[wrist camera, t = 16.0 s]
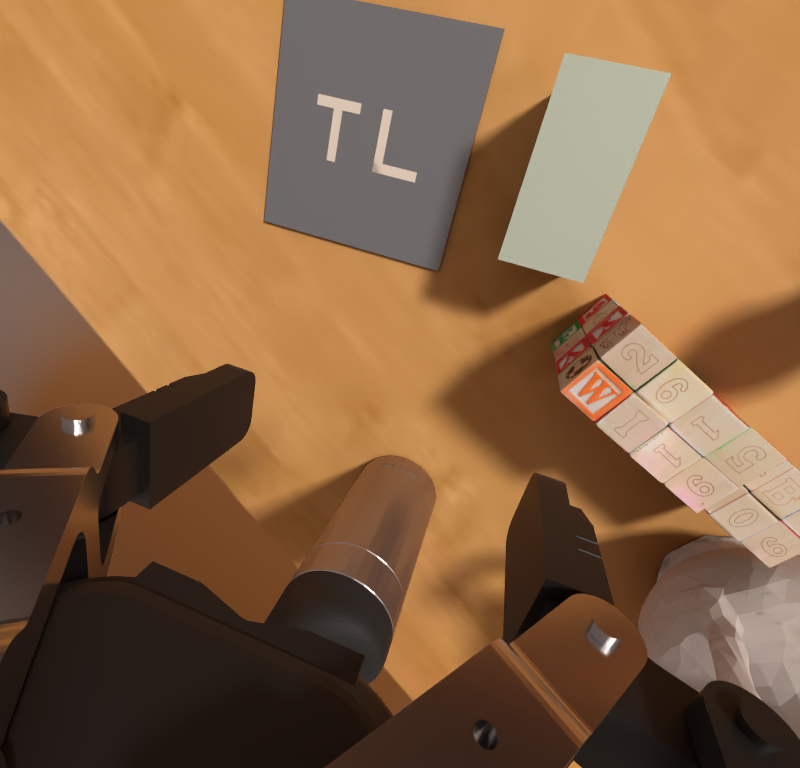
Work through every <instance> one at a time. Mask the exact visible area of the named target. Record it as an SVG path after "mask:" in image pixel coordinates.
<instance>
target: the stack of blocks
mask: <svg viewBox="0 0 800 768" xmlns="http://www.w3.org/2000/svg"><path fill="white" fill-rule="evenodd" d="M551 346H552V353H553V354H554V359H555V368H556V373H557V376H558V380H559V387H560V392H561V393H562V394H563V395H564V396H565V397H567V398H568V399H569V400H570V401H571V402H572V403H573V404H574V405H576V406H577V407H578V408H579V409H580V410H581V411H582V412H583V413H584V414H585V415H587V416H588V417H589V418H590V419H591V420H592V421H594V422H595V424H596V425H597V427H598V428H600V429H601V430H602V431H603V432H604V433H605V434H607V435H608V436H609V437H610V438H611V439H612V440H613V441H615V442H616V443H617V444H618V445H619V446H620V447H622V448H623V449H624V450H625V451H626V452H628V453H629V455H630V457H631V458H632V459H634V460H635V461H636V462H637V463H638V464H639V465H641V466H642V467H643V468H644V469H645V470H646V471H647V472H649V473H650V474H651V475H652V476H653V477H654V478H656V479H657V480H658V481H659V482H661V483H663V484H664V485H665V486H666V487H667V488H668V489H669V490H670V491H671V492H672V493H674V494H675V495H676V496H677V497H678V498H679V499H680V500H682V501H683V502H684V503H685V504H686V505H687V506H689V507H690V508H691V509H692V510H693V511H694V512H695V513H698V512H700V511H702V510H703V509H704V510H705V511H706V512H707V514H708V515H709V516H710V517H711V518H712V519H713V520H714V521H715V522H716V523H718V524H719V525H720V526H721V527H722V528H723V529H724V530H725V531H726V532H727V533H729V534H730V535H731V536H732V537H733V538H734V539H735V540H736V541H740V542H741V543H742V544H743V545H744V546H745V547H746V548H747V549H749V550H750V551H751V552H752V553H753V554H754V555H755V556H756V557H757V558H758V559H760V560H761V561H762V562H763V563H764V564H765V565H766V566H767V567H769V568H770V567H773V566H775V565H777V564H779V563H781V562H783V561H785V560H787V559H790V558H792V557H794V556H796V555H798V554H800V471H799V470H798V469H797V468H795V467H794V466H793V465H792V464H791V463H790V462H789V461H788V460H787V459H786V458H785V457H784V456H783V455H782V454H781V453H780V452H778V451H777V450H776V449H775V448H774V447H773V446H772V445H771V444H769V443H768V442H767V441H766V440H765V439H764V438H763V437H762V436H761V435H760V434H758V433H757V432H756V431H755V430H754V429H753V428H752V427H751V426H749V425H748V424H747V423H746V422H745V421H744V420H743V419H742V418H740V417H739V416H738V415H737V414H736V413H735V412H734V411H733V410H732V409H731V408H730V407H729V406H727V405H726V404H725V403H724V402H723V401H722V400H721V399H720V398H719V397H717V396H716V395H715V394H714V393H713V391H712V390H711V389H710V388H709V387H708V386H707V385H706V384H705V383H704V382H703V381H702V380H700V379H699V378H698V377H697V376H696V375H695V374H694V373H693V372H692V371H691V370H690V369H689V368H688V367H687V366H685V365H684V364H683V363H682V362H681V361H680V360H679V359H678V358H677V357H676V356H675V354H673V353H672V352H671V351H670V350H669V349H668V348H667V347H666V346H665V345H664V344H663V343H662V342H661V341H660V340H659V339H658V338H657V337H656V336H654V335H653V334H652V333H651V332H650V331H649V330H648V329H647V328H646V327H645V326H644V325H643V324H642V323H640V322H639V321H638V320H637V319H636V318H634V317H633V316H632V315H631V314H630V313H628V312H627V311H626V310H625V309H624V308H622V307H621V306H620V305H619V304H618V303H617V302H616V301H615V300H613V299H612V298H611V297H610V296H609V295H607V294H605V295H604V296H603V297H601V298H600V299H599V300H598V301H597V302H596V303H595V304H594V305H593V306H591V307H590V308H589V309H588V310H587V311H586V312H585V313H584V314H583V315H582V316H580V317H579V318H578V320H577V321H576V322H575V323H574V324H572V325H571V326H570V327H569V328H568V329H567V330H566V331H565V332H563V333H562V334H561V335H560V336H559V337H558V338H557V339H556V340H554V341H553V342H552V343H551Z"/></svg>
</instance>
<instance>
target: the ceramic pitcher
mask: <svg viewBox="0 0 800 768" xmlns="http://www.w3.org/2000/svg"><path fill="white" fill-rule="evenodd" d="M637 630H638V631H639V633H640V634H641V636H642V638H643V640H644V642H645V645H646V648H647V655H648V657H649V658H650V659H651V660H652V661H653V662H655V663H656V664H658V665H659V666H660V667H662V668H663V669H665V670H666V671H668V672H669V673H671V674H672V675H674V676H675V677H677V678H678V679H680V680H681V681H683V682H684V683H686V684H687V685H689V686H690V687H692V688H693V689H695V690H696V691H698V692H699V693H700V691H701V690H702V689H703V688H704V687H705V686H706V685H707V684H708V683H709V682H711V681H715V680H722V681H726V682H730V683H733V684H735V685H738V686H740V687H741V688H743V689H745V690H747V691H749V692H750V693H752V694H753V695H755V696H756V697H758V698H759V699H760V700H762V701H763V702H764V703H766V704H767V705H768V706H769V707H770V708H772V709H773V710H774V711H775V712H776V713H777V714H778V715H779V716H780V717H781V718H782V719H783V720H784V721H785V722H786V723H787V724H788V725H789V727H790V728H791V729H792V730H793V731H794V733H795V734H796V735H797V736H798V738H799V739H800V555H796V556H794V557H792V558H790V559H787V560H785V561H783V562H781V563H779V564H777V565H775V566H773V567H770V568H769V567H767V566H766V565H765V564H764V563H763V562H762V561H761V560H760V559H758V558H757V557H756V556H755V555H754V554H753V553H752V552H751V551H750V550H749V549H747V548H746V547H745V546H744V545H743V544H742V543H741V542H740V541H736V540H735V539H734V538H733V537H717V536H708V535H705V536H703V537H701V538H698V539H696V540H694V541H692V542H690V543H688V544H686V545H684V546H682V547H680V548H678V549H676V550H674V551H672V552H670V553H668V554H666V555H665V557H664V559H663V562H662V564H661V567H660V570H659V573H658V577H657V581H656V584H655V586H654V587H653V588H652V590H651V591H650V592H649V594H648V596H647V598H646V599H645V601H644V603H643V605H642V608H641V610H640V615H639V620H638V629H637Z"/></svg>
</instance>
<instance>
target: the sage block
mask: <svg viewBox="0 0 800 768" xmlns="http://www.w3.org/2000/svg"><path fill="white" fill-rule="evenodd" d="M670 76H671V73H666V72H661V71H656V70H651V69H646V68H641V67H636V66H630V65H625V64H620V63H615V62H610V61H605V60H599V59H594V58H589V57H584V56H579V55H574V54H569V53H565V54H564V57H563V61H562V64H561V67H560V70H559V73H558V76H557V79H556V82H555V85H554V88H553V91H552V94H551V97H550V100H549V103H548V107H547V110H546V113H545V116H544V119H543V122H542V125H541V128H540V131H539V134H538V137H537V140H536V143H535V146H534V149H533V153H532V156H531V159H530V162H529V165H528V168H527V171H526V174H525V177H524V180H523V183H522V186H521V189H520V192H519V196H518V199H517V202H516V205H515V208H514V211H513V214H512V217H511V220H510V223H509V226H508V229H507V232H506V235H505V238H504V242H503V245H502V248H501V251H500V254H499V257H498V260H502V261H506V262H509V263H513V264H516V265H520V266H524V267H527V268H531V269H534V270H538V271H542V272H545V273H549V274H552V275H556V276H560V277H563V278H567V279H570V280H574V281H578V282H581V283H584V280H585V278H586V276H587V273H588V271H589V269H590V266H591V264H592V261H593V259H594V257H595V254H596V252H597V250H598V247H599V245H600V242H601V240H602V238H603V235H604V233H605V230H606V228H607V226H608V223H609V221H610V219H611V216H612V214H613V211H614V209H615V207H616V204H617V202H618V199H619V197H620V195H621V192H622V190H623V188H624V185H625V183H626V180H627V178H628V176H629V173H630V171H631V169H632V166H633V164H634V161H635V159H636V157H637V154H638V152H639V149H640V147H641V145H642V142H643V140H644V138H645V135H646V133H647V130H648V128H649V126H650V123H651V121H652V119H653V116H654V114H655V111H656V109H657V107H658V104H659V102H660V99H661V97H662V95H663V92H664V90H665V88H666V85H667V83H668V80H669V78H670Z"/></svg>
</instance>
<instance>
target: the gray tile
mask: <svg viewBox="0 0 800 768" xmlns="http://www.w3.org/2000/svg"><path fill="white" fill-rule="evenodd" d="M503 33H504V29H502V28H497V27H492V26H486V25H481V24H476V23H471V22H465V21H460V20H455V19H450V18H444V17H439V16H434V15H429V14H423V13H418V12H413V11H407V10H402V9H397V8H392V7H386V6H381V5H376V4H371V3H365V2H360V1H355V0H285V3H284V14H283V24H282V35H281V46H280V56H279V67H278V78H277V88H276V99H275V110H274V120H273V131H272V142H271V152H270V163H269V174H268V184H267V195H266V206H265V216H264V221H266V222H269V223H273V224H276V225H280V226H283V227H287V228H290V229H294V230H297V231H301V232H304V233H307V234H311V235H314V236H318V237H321V238H325V239H328V240H332V241H335V242H339V243H342V244H345V245H349V246H352V247H356V248H359V249H363V250H366V251H370V252H373V253H377V254H380V255H383V256H387V257H390V258H394V259H397V260H401V261H404V262H408V263H411V264H415V265H418V266H421V267H425V268H428V269H432V270H435V271H439V268H440V265H441V261H442V257H443V254H444V250H445V246H446V242H447V239H448V235H449V231H450V228H451V224H452V220H453V217H454V213H455V209H456V206H457V202H458V198H459V195H460V191H461V187H462V184H463V180H464V176H465V173H466V169H467V165H468V162H469V158H470V154H471V150H472V147H473V143H474V139H475V136H476V132H477V128H478V125H479V121H480V117H481V114H482V110H483V106H484V103H485V99H486V95H487V92H488V88H489V84H490V81H491V77H492V73H493V70H494V66H495V62H496V59H497V55H498V51H499V47H500V44H501V40H502V36H503Z"/></svg>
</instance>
